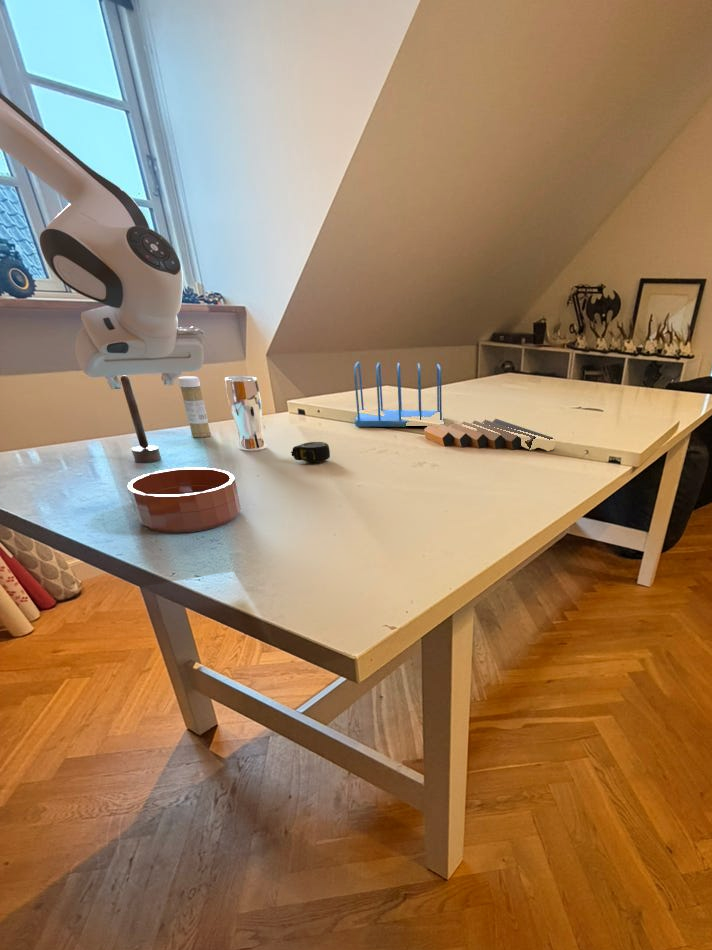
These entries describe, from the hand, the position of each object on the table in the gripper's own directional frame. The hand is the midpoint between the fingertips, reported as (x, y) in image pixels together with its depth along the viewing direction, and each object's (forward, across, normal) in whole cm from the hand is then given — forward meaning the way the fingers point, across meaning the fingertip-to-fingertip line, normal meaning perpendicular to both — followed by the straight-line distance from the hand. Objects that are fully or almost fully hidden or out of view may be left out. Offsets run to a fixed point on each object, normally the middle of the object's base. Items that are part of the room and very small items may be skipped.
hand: (141, 384), depth 103 cm
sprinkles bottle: (+28, -18, -5) cm, 34 cm away
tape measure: (+2, -26, +21) cm, 34 cm away
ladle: (+17, 0, +5) cm, 18 cm away
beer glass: (+15, -22, +8) cm, 28 cm away
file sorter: (+16, -70, +6) cm, 72 cm away
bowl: (-11, +8, +33) cm, 36 cm away
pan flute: (-8, -70, +31) cm, 77 cm away
